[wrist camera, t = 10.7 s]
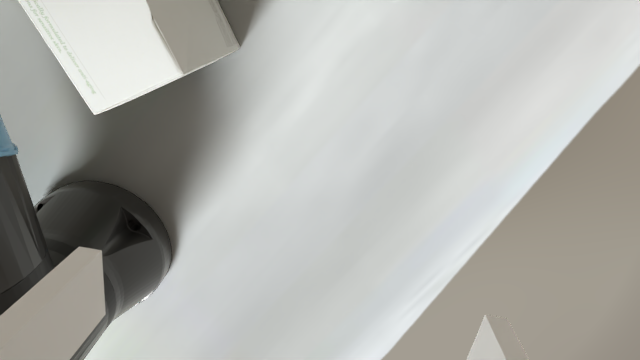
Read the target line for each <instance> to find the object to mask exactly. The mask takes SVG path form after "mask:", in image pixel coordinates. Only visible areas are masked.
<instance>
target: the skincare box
mask: <svg viewBox="0 0 640 360" xmlns="http://www.w3.org/2000/svg"><path fill="white" fill-rule="evenodd" d="M18 1H19V3H20V4H21V6H22V7H23V9H24V10H25V12H26V13H27V15H28V16H29V18H30V19H31V21H32V22H33V24H34V25H35V27H36V28H37V30H38V31H39V33H40V34H41V36H42V37H43V39H44V40H45V42H46V43H47V45H48V46H49V48H50V49H51V51H52V52H53V54H54V55H55V57H56V58H57V60H58V61H59V63H60V64H61V66H62V68H63V69H64V71H65V72H66V74H67V75H68V77H69V78H70V80H71V81H72V83H73V84H74V86H75V87H76V89H77V90H78V92H79V93H80V95H81V96H82V98H83V99H84V101H85V102H86V104H87V105H88V107H89V108H90V110H91V111H92V112H93V114H94V115H96V114H99V113H102V112H104V111H107V110H110V109H112V108H114V107H117V106H119V105H122V104H124V103H126V102H129V101H131V100H133V99H135V98H138V97H140V96H142V95H144V94H146V93H149V92H151V91H153V90H155V89H157V88H160V87H162V86H164V85H166V84H168V83H171V82H173V81H175V80H177V79H179V78H181V77H183V76H186V75H188V74H190V73H192V72H194V71H196V70H198V69H201V68H203V67H205V66H207V65H209V64H211V63H213V62H215V61H217V60H219V59H221V58H223V57H225V56H227V55H229V54H231V53H233V52H235V51H236V50H238V49H240V46H239V44H238V42H237V40H236V37H235V35H234V33H233V31H232V29H231V27H230V25H229V23H228V21H227V19H226V17H225V15H224V13H223V11H222V9H221V7H220V5H219V2H218V0H18Z"/></svg>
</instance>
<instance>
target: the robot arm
mask: <svg viewBox="0 0 640 360" xmlns="http://www.w3.org/2000/svg"><path fill="white" fill-rule="evenodd" d="M16 154H18V148H17V146H16V145H15V144H14V143H12V142H11V140H10V137H9V135H8V132H7V130H6V128H5V125H4V123H3V120H2V118H1V115H0V360H84V358H85V357H86V356H87V354H88V353H89V352H90V350H91V349H92V347H93V346H94V345H95V343H96V342H97V341H98V339H99V338H100V336H101V335H102V334H103V332H104V331H105V330H106V328H107V327H108V326H109V324H110V323H111V322H112V321H113V320H114V319H116V318H117V317H119V316H120V315H122V314H123V313H125V312H126V311H127V310H129V309H130V308H132V307H133V306H135V305H137V304H139V303H140V302H142V301H144V300H145V299H147V298H148V297H149V296H150V295H151V294H152V293H153V292H154V291H155V290H156V288H157V287H158V286H159V284H160V283H161V281H162V280H163V278H164V277H165V275H166V274H167V271H168V269H169V266H170V262H171V244H170V240H169V236H168V234H167V231H166V229H165V227H164V225H163V223H162V222H161V220H160V219H159V217H158V216H157V215H156V214H155V212H154V211H153V210H152V209H151V208H150V207H149V206H148V205H147V204H146V203H145V202H143V201H142V200H141V199H139V198H138V197H137V196H135V195H133V194H132V193H130V192H128V191H126V190H124V189H122V188H120V187H117V186H114V185H111V184H107V183H103V182H96V181H82V182H75V183H71V184H68V185H65V186H63V187H61V188H59V189H57V190H56V191H54V192H52V193H51V194H49V195H48V196H46V197H44V198H43V199H42V200H41V201H39V202H38V203H37V204H36V205H35V206H33V203H32V200H31V197H30V194H29V191H28V189H27V186H26V183H25V180H24V177H23V174H22V171H21V168H20V165H19V162H18V159H17V156H16ZM467 360H529V358H528V356H527V354H526V352H525V350H524V349H523V347H522V345H521V343H520V341H519V339H518V338H517V336H516V334H515V332H514V330H513V328H512V326H511V324H510V323H509V321H508V319H507V318H502V317H497V316H491V315H485V316H484V319H483V321H482V324H481V326H480V328H479V331H478V333H477V336H476V338H475V341H474V343H473V345H472V348H471V350H470V353H469V355H468V357H467Z"/></svg>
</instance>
